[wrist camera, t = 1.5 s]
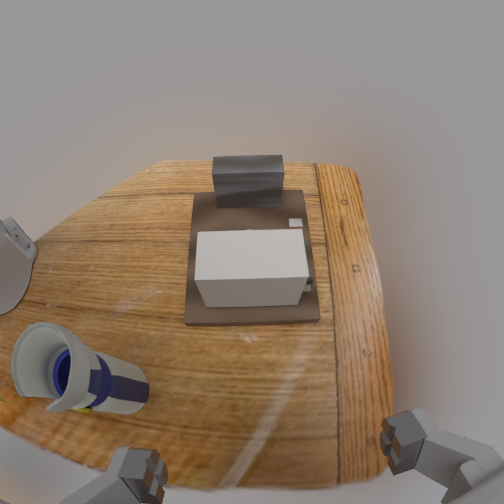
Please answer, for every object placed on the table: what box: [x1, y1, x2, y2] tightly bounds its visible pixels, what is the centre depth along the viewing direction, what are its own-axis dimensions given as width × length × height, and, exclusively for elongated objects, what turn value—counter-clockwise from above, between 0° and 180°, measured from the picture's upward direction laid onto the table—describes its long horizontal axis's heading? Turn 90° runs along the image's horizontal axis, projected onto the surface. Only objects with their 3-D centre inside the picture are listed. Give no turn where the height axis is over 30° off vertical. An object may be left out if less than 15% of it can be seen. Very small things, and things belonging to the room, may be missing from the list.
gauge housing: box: [195, 229, 313, 307], centre depth 38 cm, size 8×14×9 cm, turn 92°
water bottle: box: [0, 322, 149, 415], centre depth 25 cm, size 8×9×25 cm
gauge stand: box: [185, 155, 320, 326], centre depth 42 cm, size 22×18×10 cm
